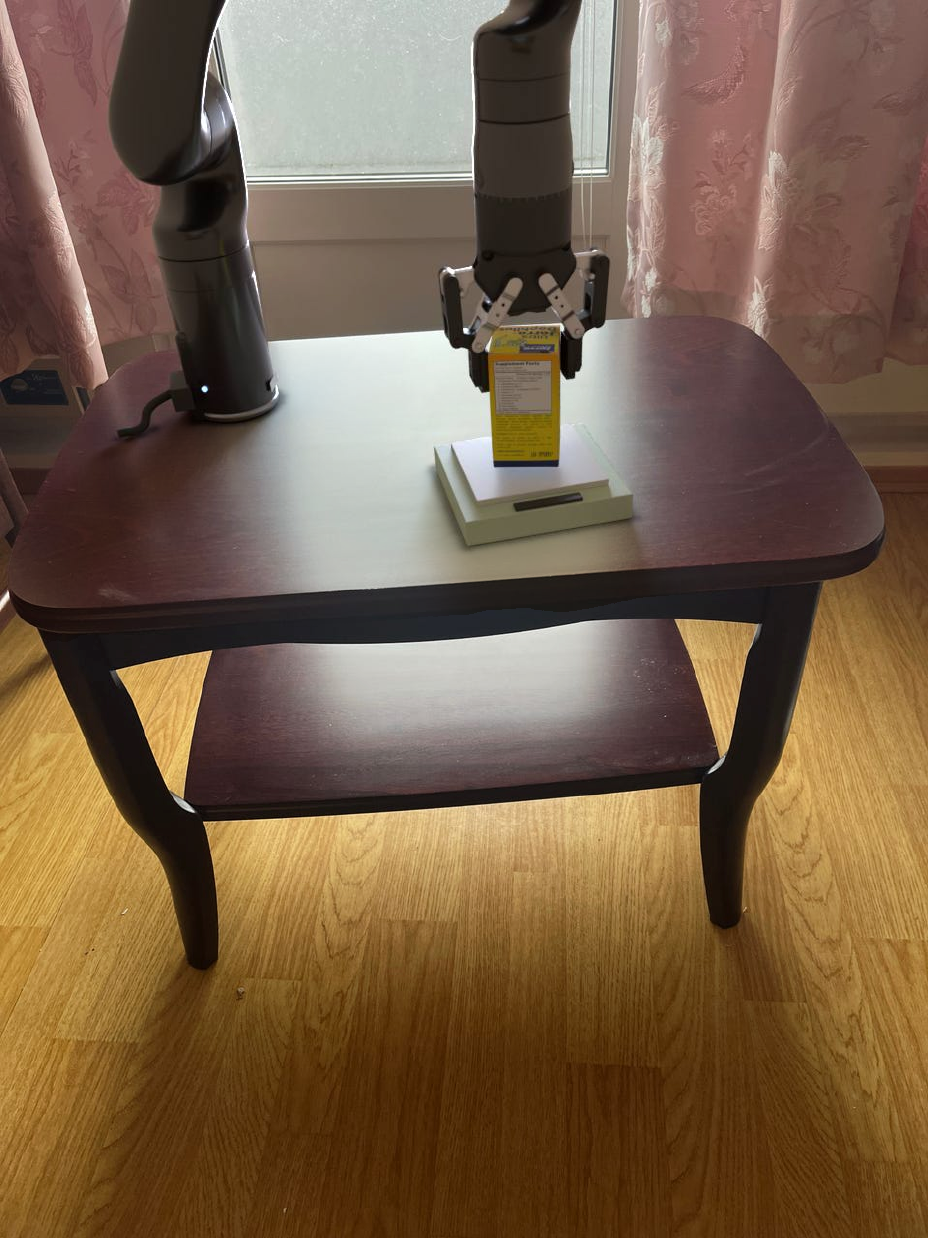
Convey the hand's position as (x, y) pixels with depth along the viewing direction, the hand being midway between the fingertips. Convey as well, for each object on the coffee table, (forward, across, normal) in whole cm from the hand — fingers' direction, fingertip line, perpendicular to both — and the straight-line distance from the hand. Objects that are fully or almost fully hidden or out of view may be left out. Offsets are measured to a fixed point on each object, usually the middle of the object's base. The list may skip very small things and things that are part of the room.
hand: (525, 382), depth 82 cm
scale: (+11, 0, +1) cm, 11 cm away
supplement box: (+7, 0, 0) cm, 7 cm away
